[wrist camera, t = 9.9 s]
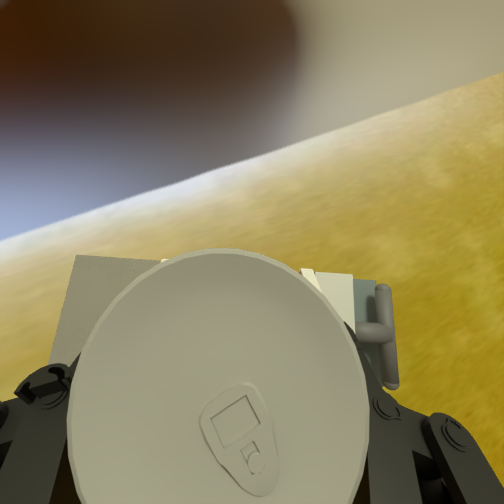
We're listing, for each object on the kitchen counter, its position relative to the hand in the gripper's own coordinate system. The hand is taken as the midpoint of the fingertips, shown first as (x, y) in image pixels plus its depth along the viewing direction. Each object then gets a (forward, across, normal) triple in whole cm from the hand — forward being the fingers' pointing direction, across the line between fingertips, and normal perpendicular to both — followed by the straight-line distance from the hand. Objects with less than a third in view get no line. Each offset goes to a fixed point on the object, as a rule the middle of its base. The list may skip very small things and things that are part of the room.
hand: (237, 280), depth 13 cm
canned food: (0, 0, -5) cm, 5 cm away
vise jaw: (+1, -9, -6) cm, 11 cm away
